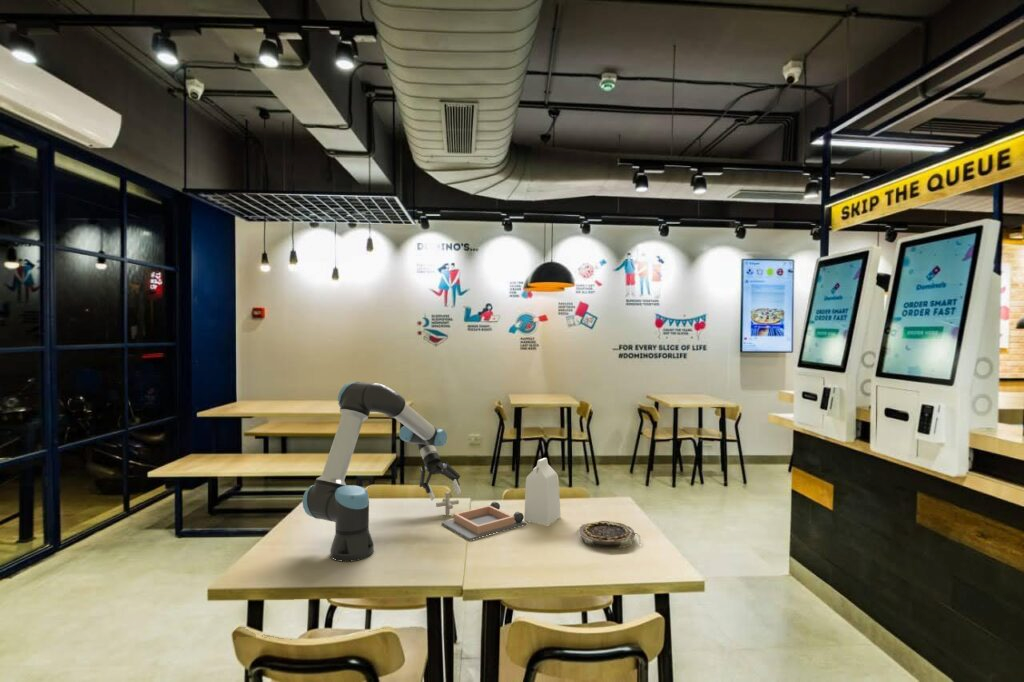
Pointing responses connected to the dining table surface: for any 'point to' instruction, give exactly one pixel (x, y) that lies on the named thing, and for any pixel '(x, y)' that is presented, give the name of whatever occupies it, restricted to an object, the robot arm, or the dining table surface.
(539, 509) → the milk
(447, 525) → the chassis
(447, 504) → the pipe connector
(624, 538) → the pie
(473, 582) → the dining table surface
